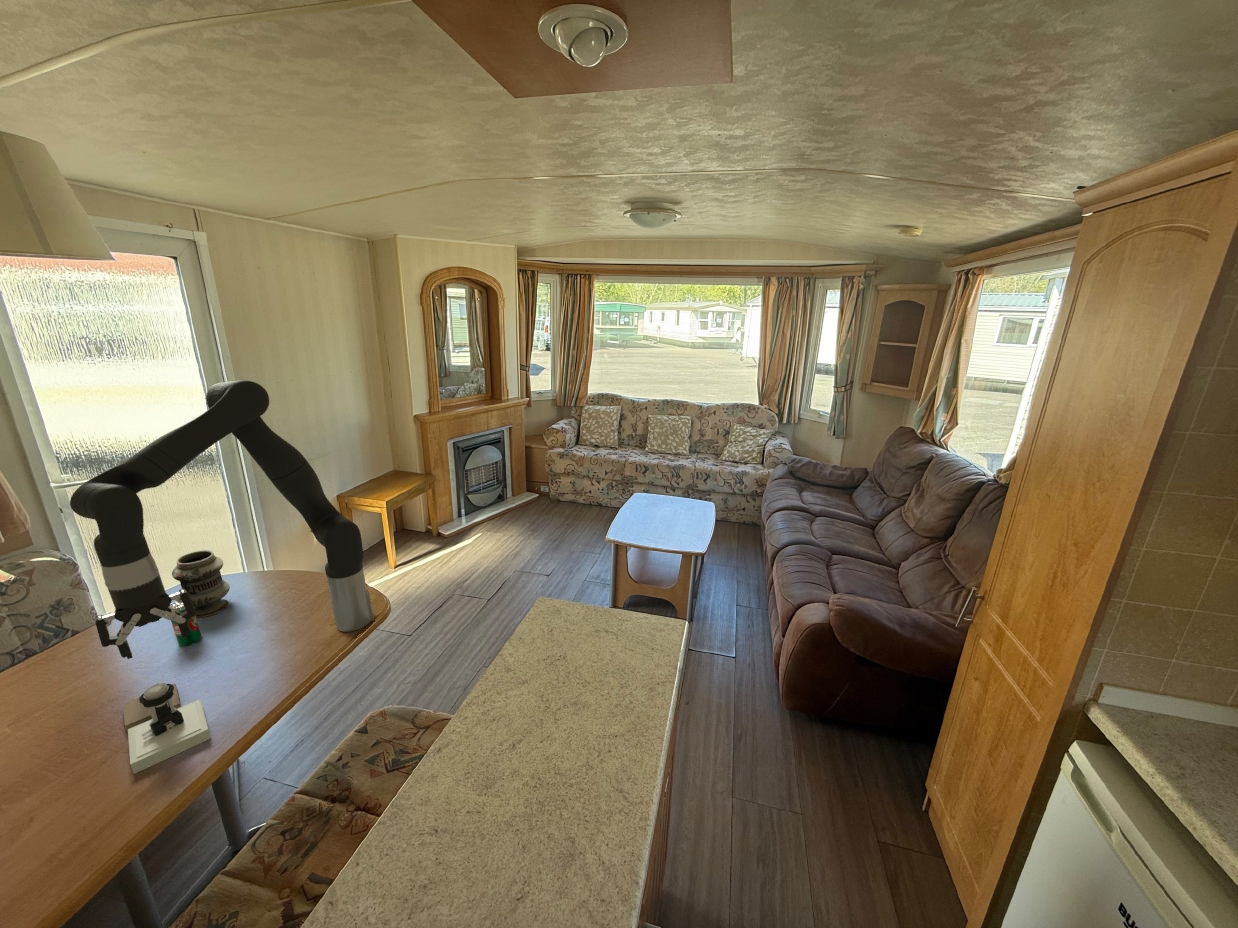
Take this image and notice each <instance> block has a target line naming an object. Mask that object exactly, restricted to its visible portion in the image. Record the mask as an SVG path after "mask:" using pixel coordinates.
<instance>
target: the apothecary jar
mask: <svg viewBox="0 0 1238 928" xmlns="http://www.w3.org/2000/svg"><path fill="white" fill-rule="evenodd" d="M223 566H224V561H223V559H222V558H221V557H219V556H217V555H215V554H214V552H213V551H212V550H203V549H202V550H197V551H196V550H195V551H192V552H188V553H186V554H183V555H182V556H180V557H178V559H177V560H176V566H175V567H174V568H173V569H172V571H171V576H172V578H173V579H174V580H176V581H178V582H179V583H180V588H181V589H186V591H187V594H188V596H189V598H190V601H191V603H192V604H193V608H194V610H195V613H196V618H197V619H201V618H207V617H210V616H213V615H216V614H219V613H221V612H222V610H224V609H226V608H228V606H229V605H230V601H229V600H227V599H225V598H224V597H226V595H227V594H228V593H229V591H230V584H229V582H228V581H226V580H224V579H223V577H222V574H221V569H223Z"/></svg>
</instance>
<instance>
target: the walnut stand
mask: <svg viewBox="0 0 1238 928" xmlns="http://www.w3.org/2000/svg"><path fill="white" fill-rule="evenodd" d="M171 684H172V685H173V686H174V690H173V693H174V695H173V696H172V698H171V699H172V702H173V705H174V708H176V709H178V708H180V707H182V704H181V699H180V695H179V691H178V688H177V684H176V683H171ZM139 698H140V696H139V697H137V698H135V699H134V698H133V699H131V700H129V701H126V702H123V715H124V717H123V718H124V719H123V721H124V727H125V730H126V733H127V734H128V729H130V728H132V727H135V726H137V725H139V724H142V723H144V722H147V721H149V720H151V719H152V716H151V713H150V710H149V708H147V707H144V706H143V704H142V703H140V701H139ZM166 702H167V701H166ZM167 705H168V703H167ZM168 707H169V706H168ZM154 709H155V707H154Z"/></svg>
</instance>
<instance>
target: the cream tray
mask: <svg viewBox="0 0 1238 928" xmlns="http://www.w3.org/2000/svg"><path fill="white" fill-rule="evenodd" d="M177 710H178V711H180V712H181V713H182V716H183V719H184V722H183V723H182V724H178V725H176V726H174V728H173V729H171V730H170V731H166V732H164V733H162V734H160V735H159V736H155V735H153V736H151V737H149V738H147V737H146V736H147V735H149V734H150V733H148V734H147V733H145V732H147V731H148V730H150V729H151V728H150V725H149V724H150V723H151V720H153V719H151V720H149V721H147V722H144V723H142V724H139V725H137V726H135V727H132V728H130V729H128V733H127V735H128V736H127V737H128V751H129V764H130V767H131V770H132V773H133V774H134V775H135V774H137V773H140V772H142V771H143V770H147V769H148V768H150V767H153V766H154V765H157V764H159V763H161V762H163V761H165V760H167V759H169V758H172V757H174V756H176V755H178V754H180V753H182V752H184V751H187V750H189V749H191V748H193V747H195V746H198V745H200V744H202V743H203V742H205V741H209V740H211V739H212V737H211V733H210V730H209V727H208V726H209V725H208V722H207V719H206V714H205V710H204V706H203V703H202V699H201V698H199V699H198V700H195V701H192V702H190V703H188V704H185V705H183V706H181V707H180V708H178V709H177ZM144 733H145V734H147V735H145V734H144ZM151 733H152V732H151ZM142 734H144V735H145V736H142ZM144 737H146V738H147V739H145V740H144V739H143V738H144Z"/></svg>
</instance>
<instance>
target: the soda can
mask: <svg viewBox="0 0 1238 928" xmlns="http://www.w3.org/2000/svg"><path fill="white" fill-rule="evenodd" d="M192 605H193V604H192ZM169 607H170V608H172V609H174V610H175V611H178V612H180V613H183V612H185V611H186V609H185V607H184V604H183V602H181V603H178V602H177V601H174V602H171V604H170V605H169ZM170 623H171V625H172V629H173V632H174V636H175V638H176V641H177V644H178V645H179V646H182V647H187V646H191V645H194V644H195V643H198V642H199V641H200V640H201V639H202V637H203V636H202V632H201V629H200V625H199V622H198V618H196V615H195V616H193V617H190V618H189V619H187V625H188V628H189V631H190V633H189V634H188V635H186V636H187V638H184V639H183V638H182V635H181V632H180V629H179V626H178V623H177V622H175V621H173V620H170Z"/></svg>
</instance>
